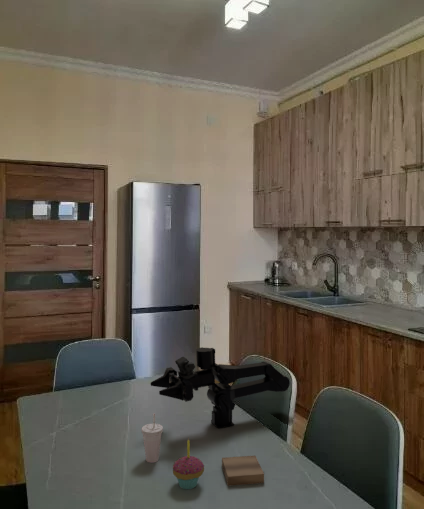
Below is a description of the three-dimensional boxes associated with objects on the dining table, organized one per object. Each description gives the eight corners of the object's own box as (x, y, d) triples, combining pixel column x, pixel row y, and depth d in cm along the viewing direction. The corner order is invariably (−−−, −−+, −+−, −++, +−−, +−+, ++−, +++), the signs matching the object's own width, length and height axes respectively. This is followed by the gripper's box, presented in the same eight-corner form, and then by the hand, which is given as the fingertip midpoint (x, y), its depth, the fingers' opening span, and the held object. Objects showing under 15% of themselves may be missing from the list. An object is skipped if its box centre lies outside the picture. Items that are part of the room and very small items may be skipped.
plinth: (221, 466, 124) (221, 457, 124) (255, 463, 125) (255, 455, 125) (227, 485, 114) (227, 476, 114) (264, 483, 115) (264, 474, 115)
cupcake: (172, 476, 119) (172, 434, 118) (203, 475, 119) (203, 433, 119) (172, 494, 110) (172, 449, 110) (205, 493, 111) (205, 448, 110)
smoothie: (159, 466, 124) (159, 418, 123) (138, 463, 125) (138, 416, 125) (165, 455, 130) (165, 410, 130) (145, 453, 131) (145, 408, 131)
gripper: (186, 350, 156) (145, 357, 149) (208, 363, 139) (162, 372, 132) (187, 380, 156) (147, 388, 150) (209, 397, 140) (164, 407, 133)
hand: (154, 388), depth 141 cm, fingers open, 9 cm apart
